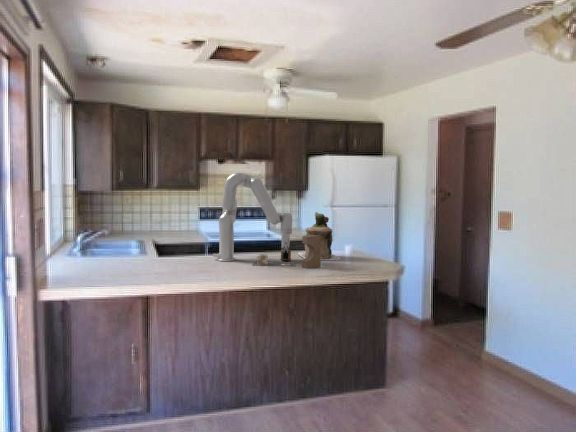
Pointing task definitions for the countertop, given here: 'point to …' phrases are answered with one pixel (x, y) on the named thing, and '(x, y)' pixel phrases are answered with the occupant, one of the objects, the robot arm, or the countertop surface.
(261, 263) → the maple block
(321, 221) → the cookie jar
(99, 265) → the countertop surface
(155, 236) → the countertop surface
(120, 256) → the countertop surface
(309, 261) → the decorative block
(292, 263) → the mat
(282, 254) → the walnut block
